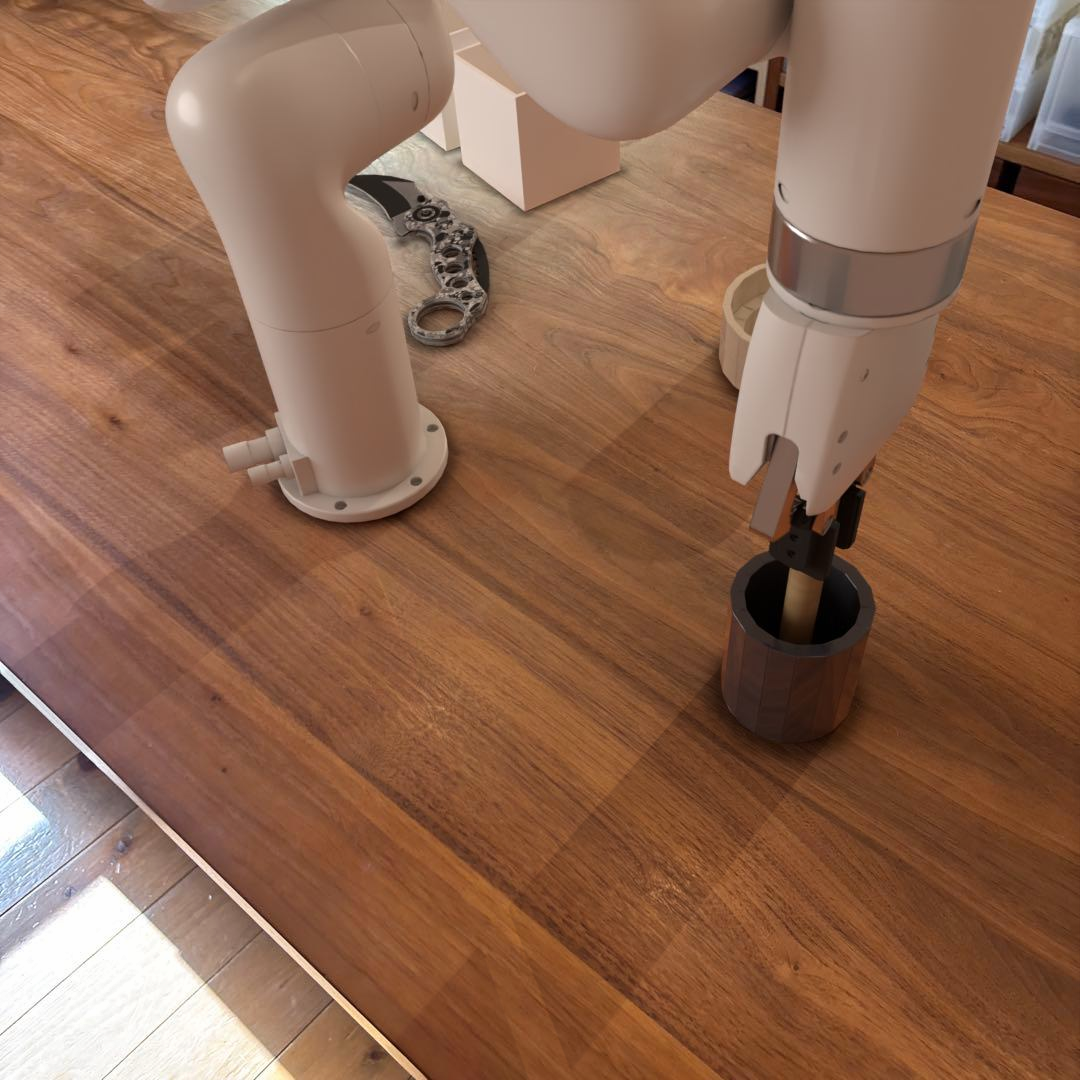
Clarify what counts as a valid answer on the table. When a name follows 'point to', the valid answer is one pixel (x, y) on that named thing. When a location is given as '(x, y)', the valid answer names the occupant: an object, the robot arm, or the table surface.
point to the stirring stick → (800, 606)
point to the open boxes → (512, 130)
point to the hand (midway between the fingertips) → (811, 548)
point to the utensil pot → (793, 652)
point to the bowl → (740, 320)
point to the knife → (435, 252)
